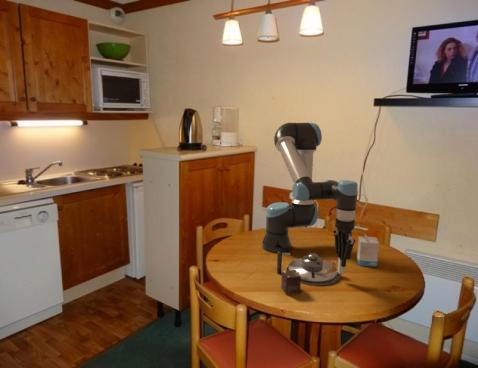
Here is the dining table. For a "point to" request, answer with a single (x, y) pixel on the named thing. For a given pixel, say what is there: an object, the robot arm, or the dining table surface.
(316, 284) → the plinth
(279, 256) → the indicator post
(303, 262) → the cover
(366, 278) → the dining table surface
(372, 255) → the ink box
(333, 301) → the dining table surface
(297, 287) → the box
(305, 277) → the turntable
